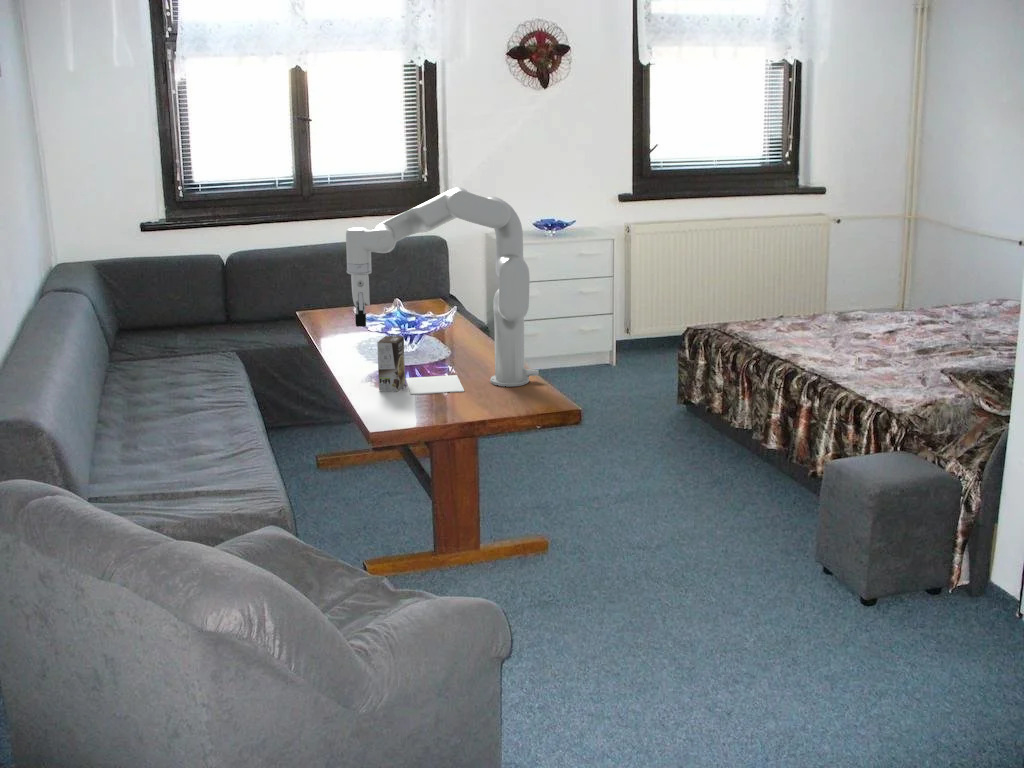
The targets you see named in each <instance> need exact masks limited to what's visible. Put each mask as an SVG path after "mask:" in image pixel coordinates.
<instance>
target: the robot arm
mask: <svg viewBox="0 0 1024 768" xmlns="http://www.w3.org/2000/svg"><path fill="white" fill-rule="evenodd" d="M455 219H459V220H463V221H465V222H469V223H472V224H476V225H479V226H483V227H487V228H489V229H490V228H491V229H493V230H494V233H495V245H496V246H495V248H496V249H495V268H494V269H495V275H496V276H497V277H498V289H497V290H496V291H495V293H494V296H493V300H492V307H493V309H492V310H493V318H494V319H493V320H494V322H493V323H494V375H492V376H491V377H490V379H489V381H490V383H491V384H492V385H495V386H497V385H498V387H505V386H506V387H512V388H513V387H520V386H521V387H522V386H524V385H527V384H528V383H529V382H530V376H531V377H539V374H540V370H539V369H534V368H528V369H527V368H526V367H525V316H527V314H528V311H529V307H530V270H529V266H528V264H527V262H526V261H525V260H524V236H523V235H524V234H523V231H524V230H523V227H522V223H521V219H520V217H519V215H518V213H517V212H516V211H515V209H514V208H513V207H512V206H511V204H509V203H508V202H507V201H505V200H504V199H502V198H500V197H497V196H488V197H484V196H481V195H477V194H475V193H472V192H470V191H468V190H466V189H465V188H464V187H453V188H451V189H448V190H447V191H445V192H442V193H441V194H439V195H437V196H435V197H433V198H431V199H429V200H427V201H425V202H423V203H421V204H419V205H417V206H415V207H412V208H410V209H409V210H406V211H404V212H402V213H399V214H397V215H395V216H393V217H391V218H389V219H386V220H384V221H382V222H381V223H379V224H377V225H376V226H375V227H374V228H373V229H368V228H366V227H359V226H358V227H351V228H348V229H347V230H346V232H345V244H346V245H345V247H346V273H347V274H348V275H350V277H351V278H350V282H351V295H352V301H353V305H354V306H355V313H354V314H355V315H354V316H355V319H354V320H355V326H356V327H358V328H359V327H367V313H366V305H367V306H368V307H369V306H370V304H371V302H370V279H369V275H371V274H372V270H373V269H372V253H377V254H379V253H380V254H387V253H391V252H392V251H393V250H394V249H395V247H396V244H397V243H398V241H399V242H400V241H401V240H403V239H405V238H407V237H410V236H412V235H415V234H420V233H428V232H431V231H433V230H435V229H438V228H439V227H441V226H442V225H445V224H446V223H449V222H450V221H452V220H455Z"/></svg>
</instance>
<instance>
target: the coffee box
mask: <svg viewBox="0 0 1024 768" xmlns="http://www.w3.org/2000/svg"><path fill="white" fill-rule="evenodd" d="M404 339H405V337H404V336H400V335H393V336H389V335H385V336H384V337H383V338H381V339H380V340H379V341H377V365H378V366H377V367H378V370H377V371H378V391H379V390H382V391H381V392H390V391H394V392H393V393H398V392H399V391H400V390H401V389H402V388H403V387H404V386H405V385H406V366H405V365H406V363H405V362H406V361H405V340H404Z"/></svg>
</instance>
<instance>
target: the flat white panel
mask: <svg viewBox="0 0 1024 768" xmlns="http://www.w3.org/2000/svg"><path fill="white" fill-rule="evenodd" d="M405 383H406V385H407V387H408V391H409V394H410V395H411V394H416V395H429V394H445V393H444V392H450V393H463V392H465V390H464V387H463V385H462V383H461V381H460V378H459V377H458V375H457V374H453V375H436V376H435V375H433V376H418V377H417V376H416V377H405Z"/></svg>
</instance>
